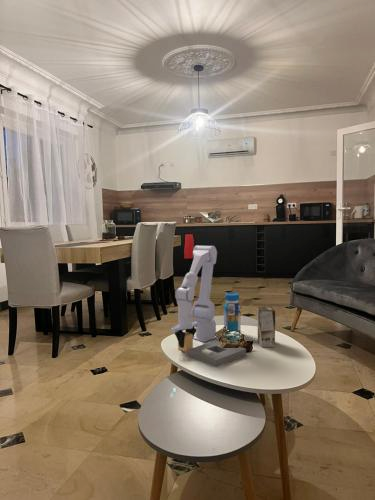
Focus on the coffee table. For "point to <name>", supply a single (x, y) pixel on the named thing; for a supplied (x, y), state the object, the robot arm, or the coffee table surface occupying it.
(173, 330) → the robot arm
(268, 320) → the coffee box
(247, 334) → the coffee table surface
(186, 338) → the plug
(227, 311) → the beverage bottle
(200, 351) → the socket plate
